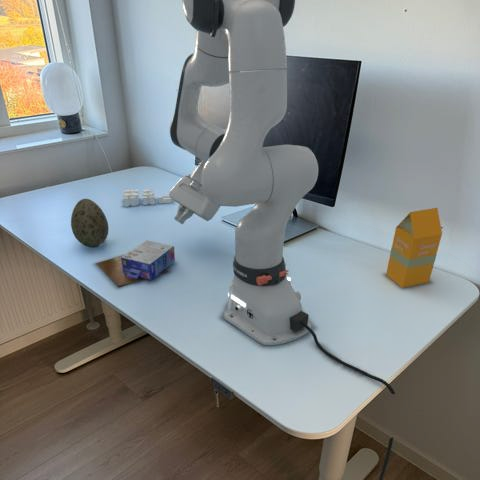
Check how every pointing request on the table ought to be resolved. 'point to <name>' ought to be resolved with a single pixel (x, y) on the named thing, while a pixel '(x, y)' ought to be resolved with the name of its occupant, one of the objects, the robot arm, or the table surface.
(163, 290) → the table surface
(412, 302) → the table surface
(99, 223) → the decorative egg
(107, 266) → the placemat
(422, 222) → the orange juice
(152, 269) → the ink cartridge box
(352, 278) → the table surface
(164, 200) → the modular blocks
